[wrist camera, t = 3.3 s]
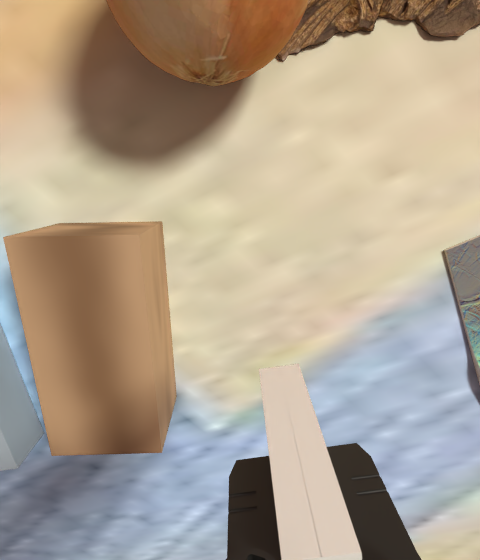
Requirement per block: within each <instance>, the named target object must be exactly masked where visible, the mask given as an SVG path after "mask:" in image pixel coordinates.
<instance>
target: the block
mask: <svg viewBox="0 0 480 560" xmlns="http://www.w3.org/2000/svg"><path fill="white" fill-rule="evenodd" d="M3 238H4V243H5V247H6V252H7V256H8V261H9V265H10V270H11V274H12V279H13V283H14V288H15V292H16V297H17V301H18V306H19V311H20V315H21V320H22V324H23V329H24V333H25V338H26V342H27V347H28V351H29V356H30V360H31V365H32V369H33V374H34V378H35V383H36V387H37V392H38V396H39V401H40V405H41V410H42V414H43V419H44V423H45V428H46V432H47V437H48V441H49V446H50V450H51V455H52V456H60V455H96V454H131V453H162V450H163V446H164V443H165V439H166V435H167V431H168V427H169V423H170V420H171V416H172V412H173V408H174V404H175V401H176V397H177V396H176V383H175V371H174V359H173V347H172V335H171V322H170V310H169V298H168V286H167V274H166V262H165V249H164V237H163V225H162V222H109V223H59V224H55V225H51V226H47V227H43V228H39V229H35V230H31V231H27V232H23V233H18V234H14V235H10V236H6V237H3Z"/></svg>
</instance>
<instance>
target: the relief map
mask: <svg viewBox="0 0 480 560" xmlns="http://www.w3.org/2000/svg"><path fill="white" fill-rule="evenodd" d="M444 252H445V256H446V260H447V264H448V268H449V271H450V275H451V279H452V283H453V287H454V290H455V294H456V298H457V302H458V305H459V309H460V313H461V317H462V321H463V324H464V328H465V332H466V336H467V340H468V343H469V347H470V351H471V355H472V359H473V362H474V366H475V370H476V374H477V378H478V381H479V385H480V235H479V236H476V237H474V238H471V239H469V240H467V241H464V242H462V243H459V244H457V245H454V246H452V247H449V248H447V249H445V250H444Z"/></svg>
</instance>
